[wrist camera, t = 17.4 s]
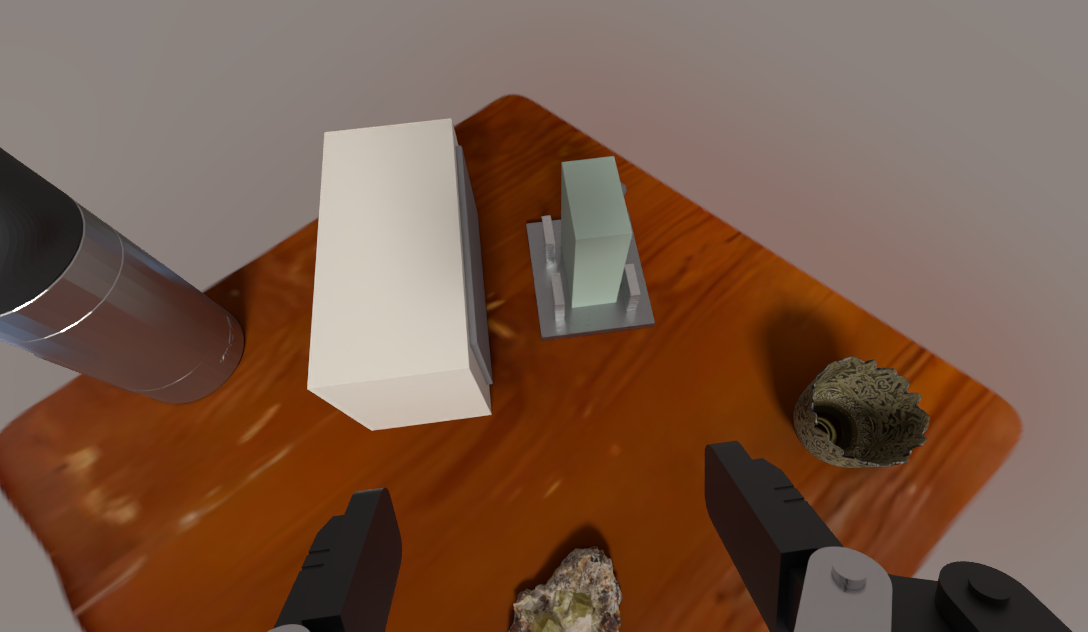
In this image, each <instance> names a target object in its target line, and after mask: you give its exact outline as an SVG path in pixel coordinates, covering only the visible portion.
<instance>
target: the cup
mask: <svg viewBox="0 0 1088 632" xmlns="http://www.w3.org/2000/svg"><path fill="white" fill-rule="evenodd" d="M876 364H877V363H876V360H869V361H866V362H863V361H861V360H860V358H856V357H853V356H852V357H848V358H845V359H843V360H840V361H838V362H836V361H834V362H832V363H831V364H829V365H828V366H827V367H826V368H825V369H824V370H823V371H822V372H821V373H820V374H819V375H818V376H817V377H816V378H815V379H814V380H813V381H812V382H811V383H810V384H809V385H808V386H807V387H806V389H805V390H804V391H803V392H802V394H801V395H800V397H799V399H798V400H797V403H796V405H795V408H794V414H793V422H794V428H795V431H796V434H797V436H798V438H799V440H800V441H801V443H802V444H803V446H804V447H805V448H806V449H807V450H808V451H809V452H810V453H811V454H812V455H814V456H815V457H817V458H818V459H820V460H822V461H824V462H826V463H828V464H831V465H835V466H840V467H847V468H864V467H888V466H892V465H897V464H902V463H906V462H908V461H909V458H908V457H906V456H908V455H910V454H911V453H912V452H911V451H912V450H913V449H914V448H916V447H918V446H923V444H924V443H925V442H926V440H927V438H926V437H925V436H924V435H923V433H924V432H925V431H926V430H927V427H928V424H929V416H928V414H927V413H926V412H924V411H923V410H922V409H920V408H919V407H918V406H917V405H918V404H917V403H918V402H920V399H921V395H920V394H919V393H912V394H909V392H908V393H907V392H906V391H907V389H908V387H909V381H908V379H906V378H905V377H903V376H901V375H899V376H897V374H896V369H892V368H883V367H880V368H876ZM817 424H820V425H822V426H823V427H824V428H825V430H826V432H827V433H825V432H824V431H822V429H821V428H819V427H817Z"/></svg>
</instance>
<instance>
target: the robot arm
mask: <svg viewBox="0 0 1088 632" xmlns="http://www.w3.org/2000/svg"><path fill="white" fill-rule="evenodd" d="M0 341H2V342H5V343H7V344H10V345H13V346H15V347H18V348H21V349H23V350H26V351H29V352H31V353H34V355H35V356H37V357H39V358H42V359H44V360H47V361H50V362H52V363H55V364H57V365H60V366H63V367H66V368H68V369H71V370H74V371H76V372H79V373H81V374H84V375H87V376H90V377H92V378H95V379H98V380H100V381H103V382H106V383H108V384H111V385H114V386H116V387H119V388H122V389H124V390H127V391H130V392H132V393H139V394H142V395H145V396H147V397H150V398H153V399H156V400H158V401H161V402H164V403H171V404H180V403H188V402H192V401H195V400H198V399H201V398H203V397H204V396H206V395H208V394H210V393H212V392H213V391H215V390H216V389H217V388H219V387H220V386H221V385H222V384H223V383H224V382H225V381H226V380H227V379H228V378H229V377H230V376H231V374H232V373H233V371H234V370H235V369H236V367H237V365H238V363H239V361H240V359H241V356H242V352H243V348H244V335H243V331H242V328H241V326H240V324H239V322H238V320H237V319H236V318H235V317H234V316H233V315H232V314H230V313H229V312H228V311H226V310H225V309H224V308H222V307H221V306H219V305H218V304H217V303H215V302H214V301H213V300H211V299H210V298H208V297H207V296H206V295H205V294H203V293H202V292H200V291H199V290H198V289H196V288H195V287H194V286H192V285H191V284H189V283H188V282H186V281H185V280H184V279H182V278H181V277H180V276H178V275H177V274H175V273H174V272H173V271H171V270H170V269H169V268H167V267H166V266H164V265H163V264H162V263H160V262H159V261H158V260H156V259H155V258H153V257H152V256H151V255H149V254H148V253H147V252H145V251H144V250H142V249H141V248H140V247H138V246H137V245H135V244H134V243H133V242H131V241H130V240H129V239H127V238H126V237H124V236H123V235H122V234H120V233H119V232H118V231H116V230H115V229H113V228H112V227H111V226H109V225H108V224H107V223H105V222H103V221H102V220H100V219H99V218H98V217H97V216H95V215H94V214H92V213H91V212H90V211H88V210H87V209H86V208H84V207H83V206H81V205H80V204H79V203H77V202H76V201H74V200H73V199H72V198H70V197H69V196H68V195H67V194H65V193H64V192H62V191H61V190H59V189H58V188H57V187H55V186H54V185H52V184H51V183H50V182H48V181H47V180H45V179H44V178H42V177H41V176H40V175H38V174H37V173H35V172H34V171H32V170H31V169H30V168H28V167H27V166H25V165H24V164H23V163H21V162H20V161H18V160H17V159H15V158H14V157H13V156H11V155H10V154H9V153H7V152H6V151H4V150H3V149H2V148H0ZM705 501H706V506H707V510H708V513H709V516H710V519H711V521H712V523H713V525H714V527H715V529H716V530H717V532H718V534H719V536H720V538H721V540H722V542H723V544H724V546H725V547H726V549H727V551H728V553H729V555H730V557H731V559H732V561H733V563H734V564H735V566H736V568H737V570H738V572H739V574H740V576H741V578H742V580H743V581H744V583H745V585H746V587H747V589H748V591H749V593H750V595H751V597H752V598H753V600H754V602H755V604H756V606H757V608H758V610H759V612H760V614H761V615H762V617H763V619H764V621H765V623H766V625H767V627H768V629H769V631H770V632H1072V631H1071V630H1070V629H1069V628H1068V627H1067V626H1065V624H1064V623H1063V622H1062V621H1061V620H1059V619H1058V618H1057V617H1056V616H1055V615H1054V614H1053V613H1052V612H1051V611H1050V610H1049V609H1048V608H1047V607H1046V606H1045V605H1044V604H1043V603H1041V602H1040V601H1039V600H1038V599H1037V598H1036V597H1035V596H1034V595H1033V594H1032V593H1031V592H1030V591H1029V590H1028V589H1027V588H1026V587H1024V586H1023V585H1022V584H1021V583H1019V582H1018V581H1016V580H1015V579H1013V578H1012V577H1010V576H1009V575H1007V574H1005V573H1003V572H1001V571H999V570H997V569H994V568H992V567H989V566H986V565H982V564H979V563H974V562H965V561H963V562H953V563H950V564H947V565H946V566H944V567H943V568H942V570H941V571H940V575H939V579H938V581H933V580H925V579H917V578H909V577H901V576H895V575H891V574H887V573H886V572H885V570H884V569H883V568H882V567H881V566H880V565H879V564H878V563H877V562H875V561H874V560H873V559H871V558H870V557H868V556H866V555H864V554H862V553H860V552H858V551H855V550H852V549H848V548H844V547H843V545H842V544H841V543H840V542H839V540H838V539H837V538H836V537H835V536H834V534H833V533H832V532H831V531H830V529H829V528H828V527H827V526H826V524H825V523H824V522H823V521H822V520H821V518H820V517H819V516H818V515H817V513H816V512H815V511H814V510H813V508H812V507H811V506H810V505H809V504H808V502H807V501H804V497H803V496H802V495H801V494H800V492H799V491H798V490H797V489H796V488H794V485H793V484H792V483H791V481H790V480H789V479H788V478H787V476H786V475H785V474H784V473H783V472H782V470H780V469H779V468H777V467H776V466H774V465H772V464H771V463H769V462H768V461H766V460H764V459H763V458H761V459H754V460H752V459H751V458H750V456H749V455H748V454H747V452H746V451H745V450H744V448H743V447H742V446H741V444H740V443H739V442H738V441H731V442H724V443H717V444H709V445H707V446H706V448H705ZM401 558H402V542H401V536H400V532H399V528H398V524H397V520H396V516H395V512H394V509H393V505H392V501H391V497H390V494H389V491H388V489H387V488H380V489H372V490H365V491H358V492H355V493H354V494H353V495H352V497H351V500H350V502H349V505H348V507H347V510H346V512H345V514H344V515H340V516H333V517H332V518H331V519H330V520H329V521H328V522H327V524H326V525H325V526H324V527H323V528H322V529H321V530H320V531H319V532H318V533H317V535H316V537H315V539H314V542H313V544H312V546H311V548H310V550H309V555H307V557H306V559H305V561H304V563H303V565H302V571H300V572H299V574H298V576H297V579H296V581H295V583H294V585H293V587H292V589H291V592H290V594H289V596H288V598H287V600H286V602H285V605H284V607H283V609H282V611H281V613H280V615H279V618H278V620H277V622H276V624H275V626H274V628H273V629H272V630H270V631H268V632H385V628H386V624H387V620H388V615H389V611H390V607H391V603H392V598H393V594H394V590H395V586H396V582H397V577H398V573H399V569H400V565H401Z"/></svg>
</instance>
